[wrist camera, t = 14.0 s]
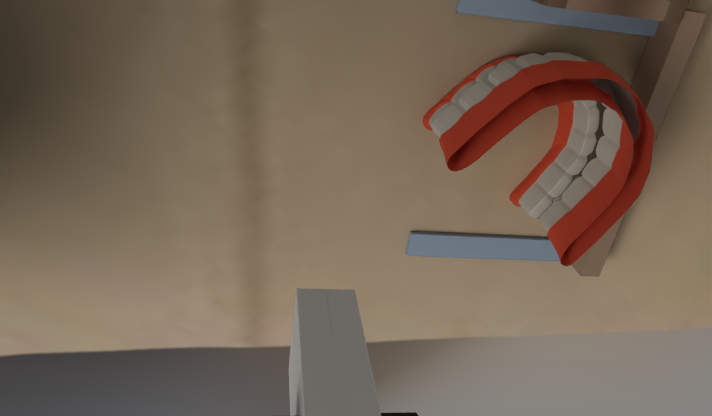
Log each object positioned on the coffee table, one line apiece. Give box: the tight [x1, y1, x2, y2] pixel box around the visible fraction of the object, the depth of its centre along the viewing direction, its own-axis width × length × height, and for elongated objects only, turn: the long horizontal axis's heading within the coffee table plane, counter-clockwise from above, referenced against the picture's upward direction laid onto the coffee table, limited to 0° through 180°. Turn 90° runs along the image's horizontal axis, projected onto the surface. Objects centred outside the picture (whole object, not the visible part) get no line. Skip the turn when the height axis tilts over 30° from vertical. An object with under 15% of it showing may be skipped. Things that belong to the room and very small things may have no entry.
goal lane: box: [406, 0, 707, 277], centre depth 39 cm, size 16×20×2 cm
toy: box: [423, 52, 654, 266], centre depth 36 cm, size 12×10×8 cm
